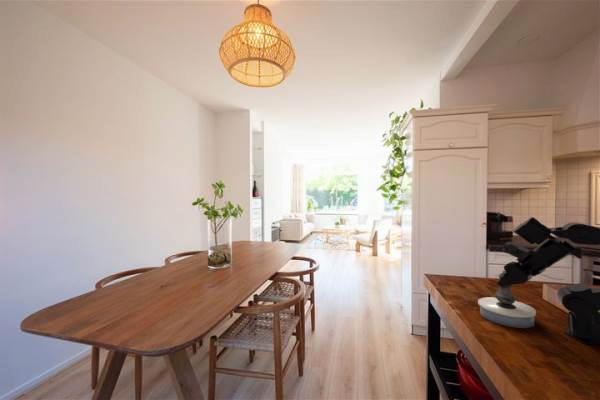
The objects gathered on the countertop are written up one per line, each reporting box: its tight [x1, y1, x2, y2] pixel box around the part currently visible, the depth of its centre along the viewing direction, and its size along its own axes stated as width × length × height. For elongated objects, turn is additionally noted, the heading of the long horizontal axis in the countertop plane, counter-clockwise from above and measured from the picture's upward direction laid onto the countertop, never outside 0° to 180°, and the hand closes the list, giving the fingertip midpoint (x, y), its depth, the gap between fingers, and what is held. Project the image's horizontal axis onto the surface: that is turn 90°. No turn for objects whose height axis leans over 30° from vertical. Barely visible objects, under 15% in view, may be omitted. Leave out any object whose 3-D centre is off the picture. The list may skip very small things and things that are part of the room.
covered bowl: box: [477, 296, 537, 329], centre depth 82 cm, size 15×15×4 cm
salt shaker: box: [494, 270, 518, 309], centre depth 82 cm, size 6×6×12 cm
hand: (503, 282), depth 82 cm, fingers open, 9 cm apart
